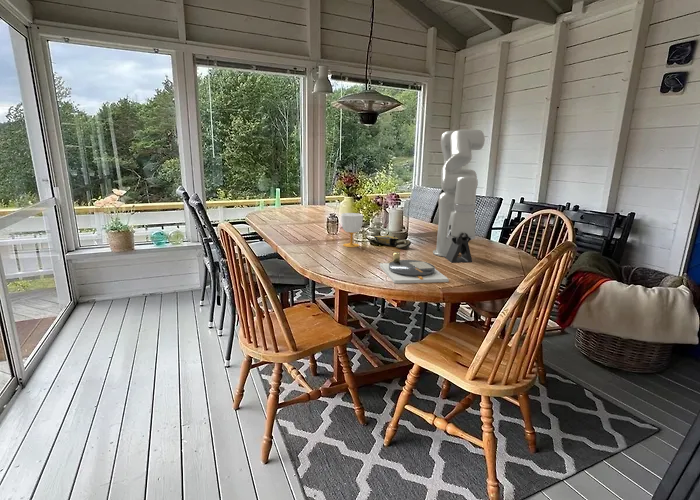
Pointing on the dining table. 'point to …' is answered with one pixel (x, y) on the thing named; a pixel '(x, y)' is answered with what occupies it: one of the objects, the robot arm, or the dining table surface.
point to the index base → (413, 279)
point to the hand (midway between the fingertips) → (459, 253)
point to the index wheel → (410, 267)
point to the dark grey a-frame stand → (455, 250)
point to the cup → (351, 225)
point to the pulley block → (393, 241)
